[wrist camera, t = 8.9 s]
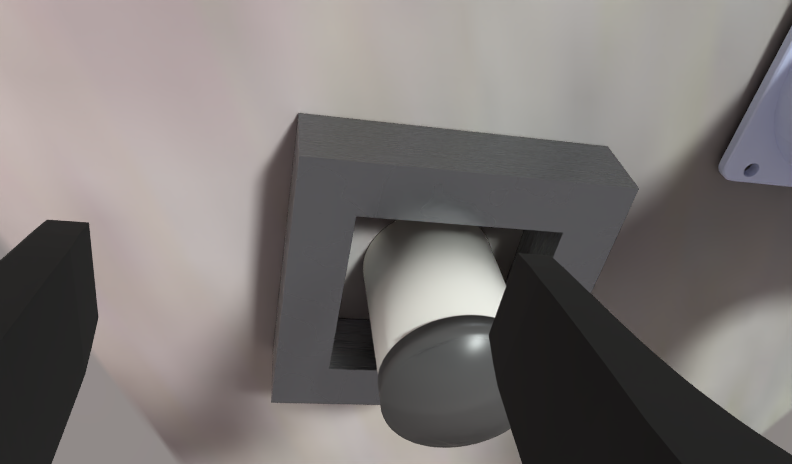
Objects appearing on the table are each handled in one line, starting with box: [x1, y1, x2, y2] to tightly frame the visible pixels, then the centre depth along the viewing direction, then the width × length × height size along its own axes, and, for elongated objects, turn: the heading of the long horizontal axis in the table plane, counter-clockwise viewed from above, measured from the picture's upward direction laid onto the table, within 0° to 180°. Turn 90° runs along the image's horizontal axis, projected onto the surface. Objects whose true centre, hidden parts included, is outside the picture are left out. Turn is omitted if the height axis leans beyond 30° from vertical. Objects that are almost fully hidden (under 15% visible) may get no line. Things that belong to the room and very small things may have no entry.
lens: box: [363, 220, 511, 448], centre depth 22 cm, size 5×5×6 cm
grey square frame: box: [271, 113, 639, 405], centre depth 23 cm, size 10×10×2 cm
